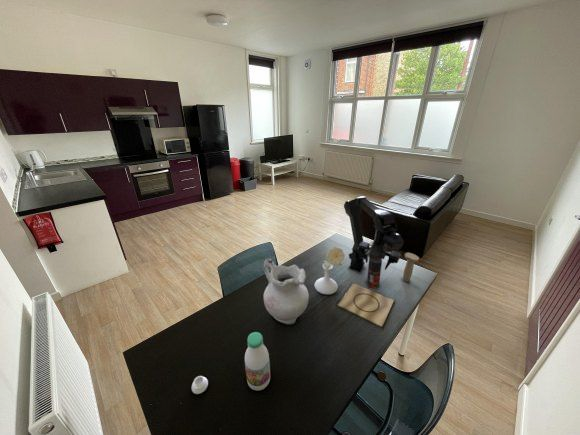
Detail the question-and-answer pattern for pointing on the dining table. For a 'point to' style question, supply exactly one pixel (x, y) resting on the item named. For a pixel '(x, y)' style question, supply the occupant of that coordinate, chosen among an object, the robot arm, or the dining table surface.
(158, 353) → the dining table surface
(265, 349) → the milk bottle
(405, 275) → the handle
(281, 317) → the ceramic pitcher
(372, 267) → the deodorant
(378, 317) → the circle mat
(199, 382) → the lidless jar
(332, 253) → the flower in vase
